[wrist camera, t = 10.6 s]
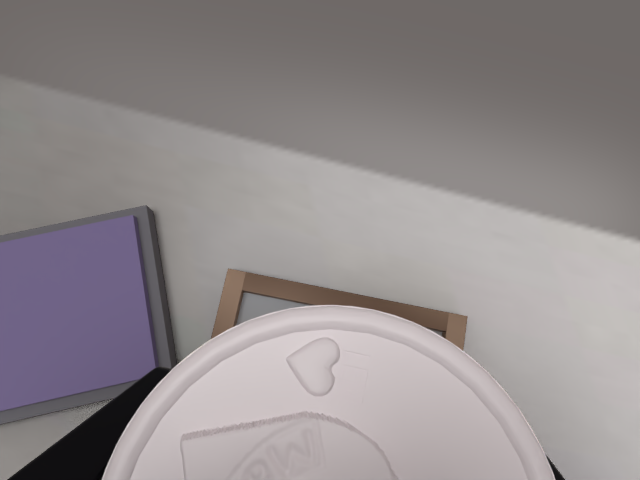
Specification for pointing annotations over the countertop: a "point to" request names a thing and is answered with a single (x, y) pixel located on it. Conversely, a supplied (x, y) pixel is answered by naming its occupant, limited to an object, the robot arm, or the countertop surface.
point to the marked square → (277, 294)
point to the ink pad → (80, 312)
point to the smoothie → (328, 407)
